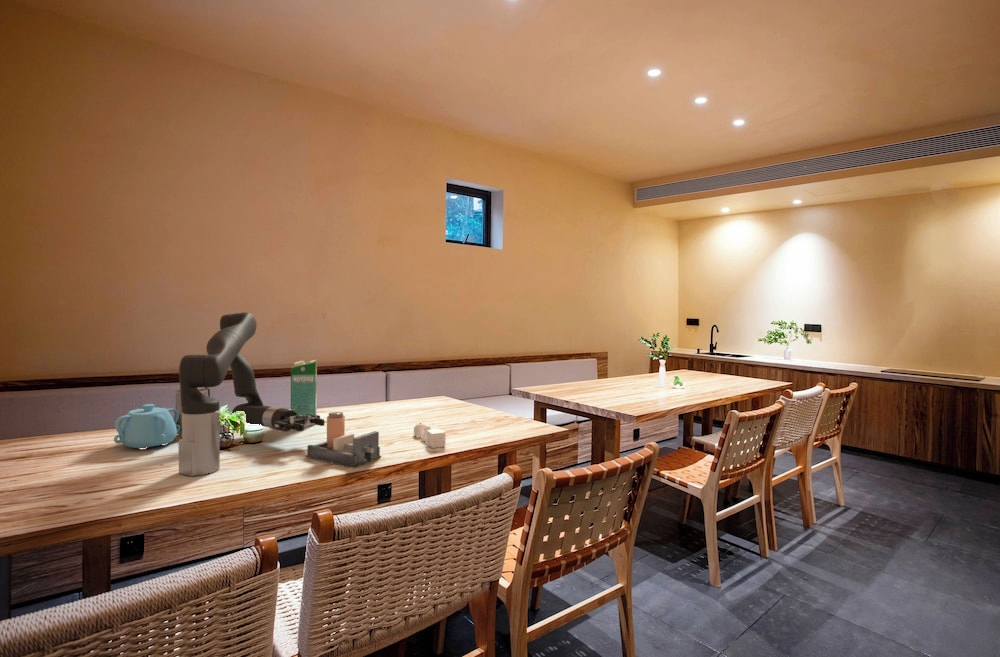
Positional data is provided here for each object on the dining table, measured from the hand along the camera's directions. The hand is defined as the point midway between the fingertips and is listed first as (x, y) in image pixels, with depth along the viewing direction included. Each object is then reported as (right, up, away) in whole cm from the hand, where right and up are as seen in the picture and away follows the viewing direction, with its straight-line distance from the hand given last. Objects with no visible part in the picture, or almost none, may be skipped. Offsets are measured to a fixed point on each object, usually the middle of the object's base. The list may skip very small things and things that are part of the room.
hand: (313, 425), depth 164 cm
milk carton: (-17, -6, +36) cm, 41 cm away
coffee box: (-50, -7, +17) cm, 53 cm away
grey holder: (+12, -9, -6) cm, 16 cm away
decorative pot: (-55, -7, +2) cm, 56 cm away
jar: (+9, -8, -4) cm, 13 cm away
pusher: (+17, -9, -8) cm, 20 cm away
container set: (+35, -9, +16) cm, 40 cm away
